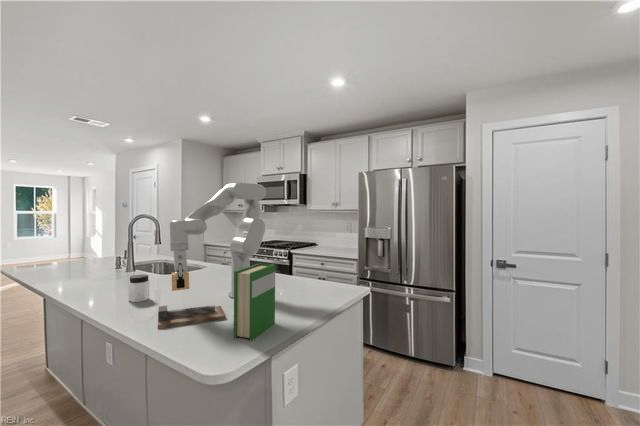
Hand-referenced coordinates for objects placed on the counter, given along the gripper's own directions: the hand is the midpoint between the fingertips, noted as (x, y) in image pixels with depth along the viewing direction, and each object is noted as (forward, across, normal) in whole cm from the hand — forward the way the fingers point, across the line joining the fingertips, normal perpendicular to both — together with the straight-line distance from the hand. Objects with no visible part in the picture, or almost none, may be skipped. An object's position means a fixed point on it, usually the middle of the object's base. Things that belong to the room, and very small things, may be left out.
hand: (180, 285), depth 138 cm
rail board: (+11, -14, -4) cm, 18 cm away
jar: (+11, +24, +19) cm, 32 cm away
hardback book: (+11, -38, -25) cm, 47 cm away
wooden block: (+1, 0, 0) cm, 1 cm away
